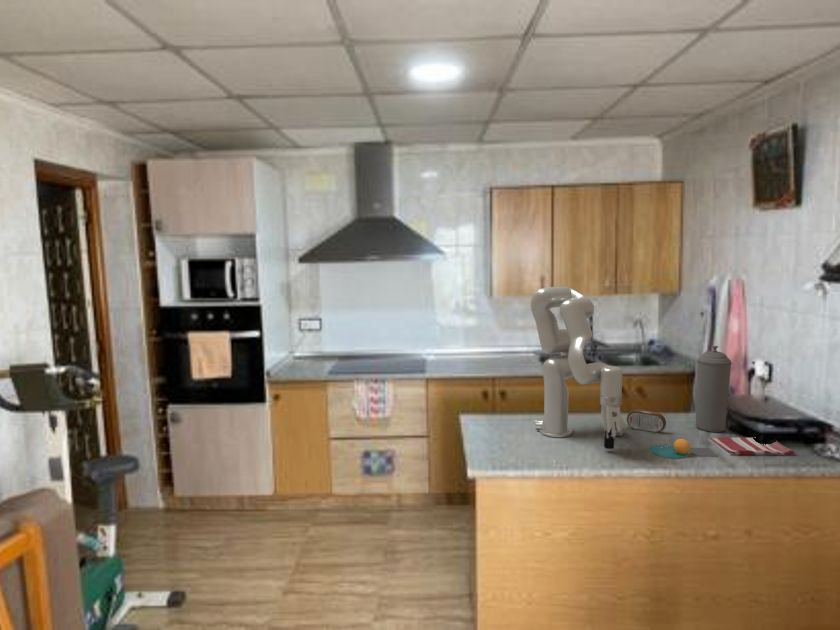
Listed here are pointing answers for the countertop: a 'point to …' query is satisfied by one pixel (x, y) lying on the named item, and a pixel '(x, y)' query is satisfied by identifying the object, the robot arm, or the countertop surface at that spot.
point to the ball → (682, 446)
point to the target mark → (667, 452)
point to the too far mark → (702, 452)
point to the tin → (646, 421)
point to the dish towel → (749, 447)
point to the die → (623, 426)
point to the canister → (712, 390)
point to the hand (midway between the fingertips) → (609, 447)
